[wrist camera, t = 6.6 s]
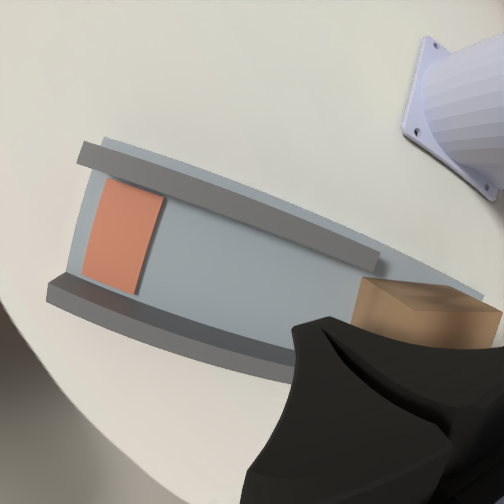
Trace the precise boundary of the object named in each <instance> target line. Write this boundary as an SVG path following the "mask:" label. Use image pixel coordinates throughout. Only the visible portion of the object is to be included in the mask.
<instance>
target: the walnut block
mask: <svg viewBox="0 0 504 504" xmlns="http://www.w3.org/2000/svg"><path fill="white" fill-rule="evenodd" d="M502 314H503V312H501V311H499V310H498V309H496V308H494V307H492V306H490V305H488V304H486V303H484V302H482V301H480V300H478V299H476V298H474V297H472V296H470V295H467V294H465V293H463V292H461V291H459V290H457V289H455V288H453V287H451V286H446V285H436V284H426V283H416V282H407V281H397V280H388V279H379V278H369V277H362V278H361V283H360V287H359V291H358V295H357V299H356V303H355V307H354V311H353V315H352V319H351V322H350V324H351V325H354V326H356V327H359V328H361V329H364V330H366V331H369V332H372V333H375V334H378V335H381V336H384V337H387V338H391V339H394V340H398V341H402V342H406V343H411V344H416V345H421V346H427V347H435V348H447V349H486V348H490V347H491V345H492V342H493V339H494V337H495V334H496V331H497V328H498V326H499V323H500V320H501V317H502Z"/></svg>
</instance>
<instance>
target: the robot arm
mask: <svg viewBox="0 0 504 504" xmlns="http://www.w3.org/2000/svg"><path fill="white" fill-rule="evenodd" d="M401 130H402V132H403V134H404V135H405V136H406V137H408V138H409V139H411V140H412V141H414V142H415V143H417V144H418V145H420V146H421V147H422V148H424V149H425V150H427V151H428V152H430V153H431V154H432V155H434V156H435V157H437V158H438V159H439V160H441V161H442V162H443V163H445V164H446V165H447V166H449V167H450V168H451V169H452V170H454V171H455V172H456V173H458V174H459V175H460V176H461V177H463V178H464V179H465V180H466V181H467V182H469V183H470V184H471V185H472V186H473V187H475V188H476V189H477V190H478V191H479V192H480V193H482V194H483V195H484V196H485V197H486V198H487V199H488V200H490V201H495V200H496V198H497V195H498V191H499V190H504V32H503V33H500V34H498V35H495V36H493V37H490V38H488V39H485V40H483V41H480V42H478V43H475V44H473V45H471V46H468V47H466V48H464V49H461V50H459V51H457V52H455V53H452V54H451V53H450V52H449V51H448V50H447V49H445V48H444V47H443V46H442V45H440V44H439V43H438V42H437V41H435V40H434V39H433V38H431V37H430V36H425V37H423V38H422V41H421V46H420V51H419V56H418V61H417V65H416V70H415V74H414V78H413V82H412V86H411V90H410V94H409V98H408V102H407V106H406V109H405V113H404V117H403V120H402V124H401ZM414 130H416V131H417V136H416V135H415V133H414ZM291 333H292V338H293V344H294V349H295V354H296V361H295V368H294V376H293V381H292V385H291V389H290V392H289V396H288V399H287V402H286V404H285V407H284V410H283V412H282V415H281V417H280V419H279V421H278V423H277V425H276V427H275V429H274V431H273V433H272V435H271V436H270V438H269V440H268V442H267V443H266V445H265V447H264V448H263V449H262V451H261V452H260V454H259V455H258V456H257V458H256V459H255V461H254V462H253V463H252V465H251V466H250V467H249V469H248V470H247V473H246V476H245V481H244V485H243V489H242V494H241V499H240V504H504V347H497V348H486V349H447V348H435V347H427V346H421V345H416V344H411V343H406V342H402V341H398V340H394V339H391V338H387V337H384V336H381V335H378V334H375V333H372V332H369V331H366V330H364V329H361V328H359V327H356V326H354V325H351V324H349V323H346V322H344V321H341V320H339V319H336V318H334V317H331V316H327V317H324V318H320V319H317V320H313V321H310V322H306V323H303V324H299V325H295V326H293V328H292V329H291Z"/></svg>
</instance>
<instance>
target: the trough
mask: <svg viewBox="0 0 504 504" xmlns="http://www.w3.org/2000/svg"><path fill="white" fill-rule="evenodd" d="M77 164H80V165H83V166H86V167H89V168H92V172H91V175H90V178H89V181H88V184H87V188H86V191H85V194H84V198H83V201H82V205H81V208H80V212H79V216H78V220H77V224H76V228H75V232H74V236H73V240H72V245H71V249H70V254H69V259H68V264H67V269H66V272H65V273H63V274H62V275H60V276H58V277H57V278H55V279H54V280H52V281H50V282H49V283H48V288H47V296H46V302H48V303H50V304H52V305H54V306H56V307H58V308H60V309H63V310H65V311H67V312H69V313H71V314H74V315H76V316H78V317H80V318H83V319H85V320H87V321H90V322H92V323H94V324H97V325H99V326H101V327H104V328H106V329H109V330H111V331H114V332H116V333H119V334H122V335H124V336H127V337H129V338H132V339H135V340H137V341H140V342H143V343H146V344H149V345H151V346H154V347H157V348H160V349H163V350H166V351H169V352H172V353H175V354H178V355H181V356H184V357H187V358H191V359H194V360H197V361H201V362H204V363H207V364H211V365H214V366H218V367H221V368H225V369H229V370H232V371H236V372H240V373H244V374H248V375H252V376H256V377H260V378H265V379H269V380H273V381H278V382H282V383H287V384H292V381H293V376H294V368H295V361H296V354H295V349H294V344H293V338H292V333H291V329H292V328H293V326H295V325H299V324H303V323H306V322H310V321H313V320H317V319H320V318H324V317H327V316H331V317H334V318H336V319H339V320H341V321H344V322H346V323H349V324H350V322H351V319H352V315H353V311H354V307H355V303H356V299H357V295H358V291H359V287H360V283H361V278H362V277H369V278H379V279H388V280H397V281H407V282H416V283H426V284H436V285H446V286H451V287H453V288H455V289H457V290H459V291H461V292H463V293H465V294H467V295H470V296H472V297H474V298H476V299H478V300H480V301H482V300H483V297H484V295H483V294H481V293H479V292H477V291H476V290H474V289H472V288H470V287H468V286H466V285H464V284H463V283H461V282H459V281H457V280H455V279H453V278H451V277H449V276H447V275H445V274H443V273H442V272H440V271H438V270H436V269H434V268H432V267H430V266H428V265H426V264H424V263H422V262H420V261H418V260H416V259H414V258H412V257H410V256H407V255H405V254H403V253H401V252H399V251H397V250H395V249H393V248H391V247H389V246H387V245H384V244H382V243H380V242H378V241H376V240H374V239H372V238H369V237H367V236H365V235H363V234H361V233H358V232H356V231H354V230H352V229H350V228H347V227H345V226H343V225H341V224H338V223H336V222H334V221H331V220H329V219H327V218H325V217H322V216H320V215H318V214H315V213H313V212H310V211H308V210H306V209H303V208H301V207H299V206H296V205H294V204H291V203H289V202H286V201H284V200H281V199H279V198H277V197H274V196H272V195H269V194H267V193H264V192H261V191H259V190H256V189H254V188H251V187H249V186H246V185H243V184H241V183H238V182H236V181H233V180H230V179H228V178H225V177H222V176H220V175H217V174H214V173H211V172H209V171H206V170H203V169H200V168H197V167H195V166H192V165H189V164H186V163H183V162H180V161H178V160H175V159H172V158H169V157H166V156H163V155H160V154H157V153H154V152H151V151H148V150H145V149H142V148H138V147H135V146H132V145H129V144H126V143H123V142H119V141H116V140H113V139H110V138H106V137H104V138H103V141H102V144H101V146H99V145H96V144H92V143H89V142H86V141H84V143H83V145H82V148H81V151H80V154H79V157H78V160H77Z"/></svg>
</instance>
